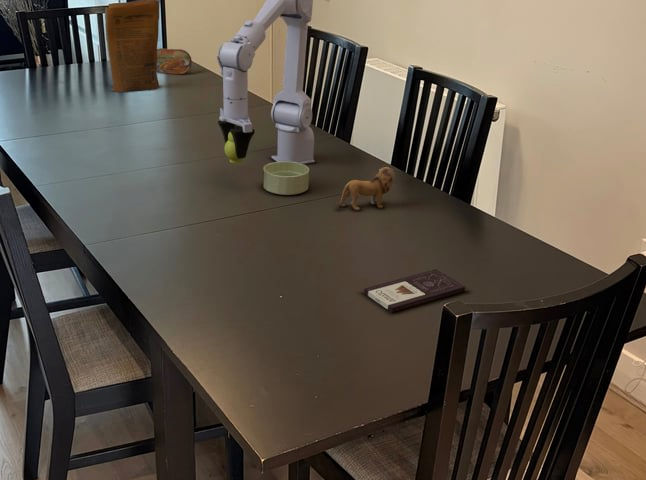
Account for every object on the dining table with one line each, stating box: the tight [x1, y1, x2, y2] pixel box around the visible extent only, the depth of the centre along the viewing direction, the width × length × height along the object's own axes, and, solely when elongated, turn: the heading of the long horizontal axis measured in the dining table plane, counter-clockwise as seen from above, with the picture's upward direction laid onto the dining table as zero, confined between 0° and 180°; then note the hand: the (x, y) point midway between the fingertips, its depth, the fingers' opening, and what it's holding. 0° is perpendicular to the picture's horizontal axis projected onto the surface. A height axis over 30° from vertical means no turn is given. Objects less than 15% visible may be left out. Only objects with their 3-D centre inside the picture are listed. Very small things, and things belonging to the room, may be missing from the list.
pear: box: [224, 125, 249, 164], centre depth 200 cm, size 6×6×9 cm
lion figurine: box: [336, 166, 395, 211], centre depth 197 cm, size 15×5×9 cm, turn 116°
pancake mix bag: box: [104, 0, 160, 93], centre depth 274 cm, size 7×19×28 cm, turn 118°
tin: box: [157, 47, 193, 75], centre depth 300 cm, size 15×3×8 cm, turn 80°
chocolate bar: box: [363, 269, 466, 313], centre depth 162 cm, size 9×1×18 cm
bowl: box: [262, 161, 311, 196], centre depth 207 cm, size 11×11×5 cm
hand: (236, 153), depth 202 cm, fingers closed on pear, 5 cm apart
